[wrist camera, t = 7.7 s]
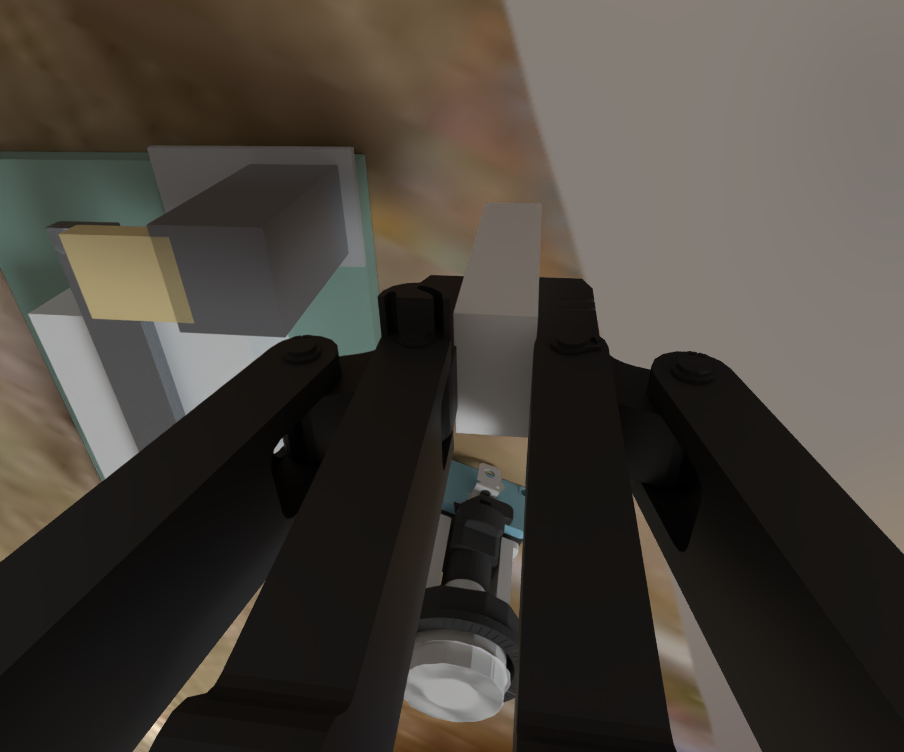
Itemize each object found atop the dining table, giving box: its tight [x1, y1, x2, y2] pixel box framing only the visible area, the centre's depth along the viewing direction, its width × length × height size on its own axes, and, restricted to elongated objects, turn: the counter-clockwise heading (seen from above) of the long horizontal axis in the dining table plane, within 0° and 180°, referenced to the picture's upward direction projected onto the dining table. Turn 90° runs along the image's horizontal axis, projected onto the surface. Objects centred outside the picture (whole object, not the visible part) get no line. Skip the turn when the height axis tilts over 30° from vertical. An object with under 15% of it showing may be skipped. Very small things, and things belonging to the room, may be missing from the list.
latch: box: [58, 164, 349, 338], centre depth 18 cm, size 6×3×6 cm, turn 91°
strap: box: [46, 221, 185, 452], centre depth 22 cm, size 3×16×1 cm, turn 1°
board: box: [0, 145, 381, 481], centre depth 24 cm, size 15×18×4 cm
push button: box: [404, 460, 526, 722], centre depth 24 cm, size 7×5×10 cm
